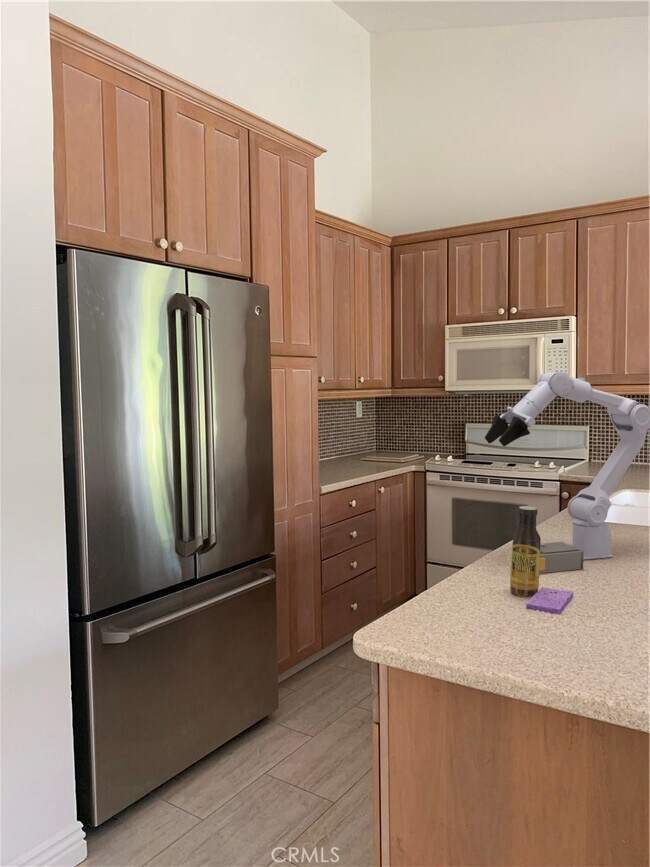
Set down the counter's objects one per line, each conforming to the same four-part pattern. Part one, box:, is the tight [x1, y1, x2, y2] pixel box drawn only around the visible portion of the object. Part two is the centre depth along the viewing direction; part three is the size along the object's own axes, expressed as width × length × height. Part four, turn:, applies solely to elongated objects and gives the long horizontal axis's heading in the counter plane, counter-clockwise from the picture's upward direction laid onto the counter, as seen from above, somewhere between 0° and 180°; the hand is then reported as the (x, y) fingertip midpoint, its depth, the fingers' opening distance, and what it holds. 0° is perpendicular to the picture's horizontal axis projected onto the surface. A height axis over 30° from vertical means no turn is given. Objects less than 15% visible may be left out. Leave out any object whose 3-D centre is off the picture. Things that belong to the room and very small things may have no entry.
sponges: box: [525, 586, 574, 615], centre depth 143 cm, size 7×13×2 cm, turn 147°
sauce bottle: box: [509, 505, 541, 598], centre depth 148 cm, size 7×6×20 cm
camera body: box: [540, 541, 580, 554], centre depth 170 cm, size 11×8×6 cm
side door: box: [539, 551, 584, 574], centre depth 165 cm, size 14×1×4 cm, turn 103°
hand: (494, 442), depth 170 cm, fingers open, 7 cm apart
